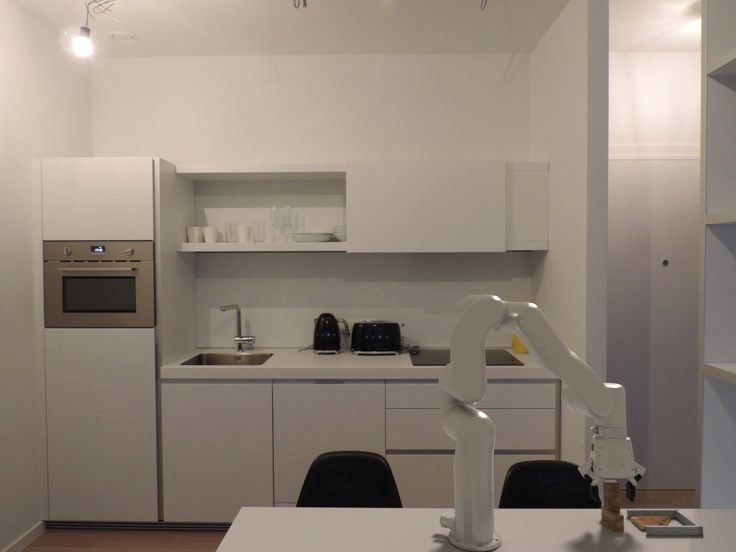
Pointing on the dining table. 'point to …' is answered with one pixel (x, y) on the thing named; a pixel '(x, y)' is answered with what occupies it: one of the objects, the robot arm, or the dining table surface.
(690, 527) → the frame
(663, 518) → the shard
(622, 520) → the wooden step block
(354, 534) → the dining table surface
